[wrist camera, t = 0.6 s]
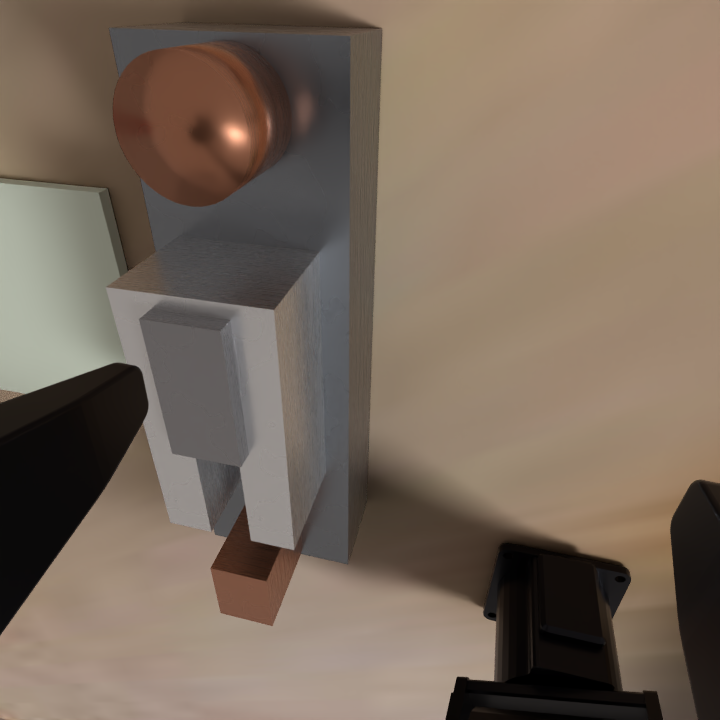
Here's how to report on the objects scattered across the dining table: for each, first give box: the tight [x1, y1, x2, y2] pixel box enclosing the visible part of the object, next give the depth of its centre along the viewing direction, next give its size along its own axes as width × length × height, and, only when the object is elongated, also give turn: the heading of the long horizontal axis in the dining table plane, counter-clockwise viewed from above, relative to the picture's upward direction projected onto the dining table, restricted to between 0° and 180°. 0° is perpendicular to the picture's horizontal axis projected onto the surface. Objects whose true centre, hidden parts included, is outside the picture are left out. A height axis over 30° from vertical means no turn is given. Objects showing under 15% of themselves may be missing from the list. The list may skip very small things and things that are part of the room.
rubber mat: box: [0, 178, 128, 394], centre depth 27 cm, size 12×10×1 cm
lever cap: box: [106, 236, 326, 550], centre depth 19 cm, size 10×5×5 cm, turn 179°
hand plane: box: [109, 23, 382, 626], centre depth 21 cm, size 22×7×8 cm, turn 179°
